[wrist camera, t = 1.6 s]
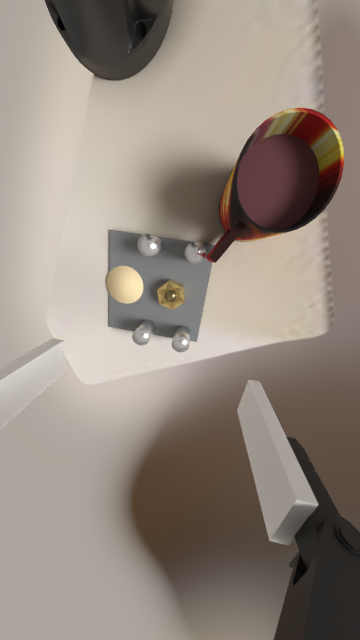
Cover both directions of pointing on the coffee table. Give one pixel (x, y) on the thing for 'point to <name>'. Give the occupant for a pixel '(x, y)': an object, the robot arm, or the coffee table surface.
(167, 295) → the nut
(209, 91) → the coffee table surface
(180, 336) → the spacer far right
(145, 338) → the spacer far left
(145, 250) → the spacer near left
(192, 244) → the spacer near right
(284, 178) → the mug
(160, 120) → the coffee table surface
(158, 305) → the mat
